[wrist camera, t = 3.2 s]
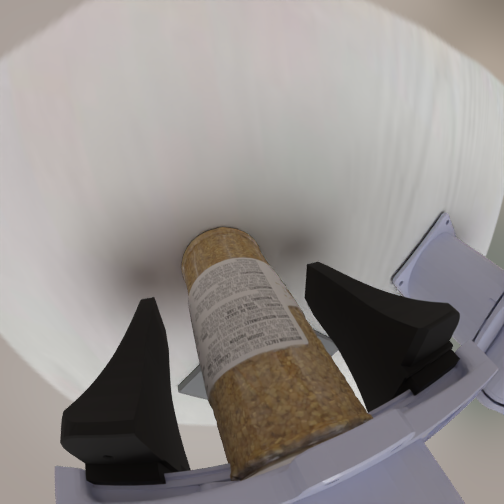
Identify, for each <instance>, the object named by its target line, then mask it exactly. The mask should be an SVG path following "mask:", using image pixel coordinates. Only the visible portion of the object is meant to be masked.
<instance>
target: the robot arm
mask: <svg viewBox="0 0 504 504" xmlns="http://www.w3.org/2000/svg"><path fill="white" fill-rule="evenodd" d="M393 284H394V285H395V286H396V287H397V289H398V290H399V291H400V292H401V294H402V295H403V296H404V297H403V296H398V295H395V294H391V293H388V292H385V291H382V290H379V289H377V288H374V287H372V286H369V285H367V284H364V283H362V282H360V281H358V280H355V279H353V278H351V277H349V276H347V275H345V274H343V273H341V272H339V271H337V270H335V269H333V268H331V267H329V266H327V265H324V264H322V263H320V262H315V263H311V264H307V273H306V288H305V299H306V301H307V303H308V305H309V307H310V309H311V311H312V313H313V315H314V316H315V317H316V319H317V320H318V322H319V323H320V324H321V326H322V327H323V329H324V330H325V331H326V333H327V334H328V336H329V337H330V338H331V340H332V341H333V342H334V344H335V345H336V347H337V348H338V350H339V351H340V353H341V355H342V357H343V359H344V360H345V362H346V364H347V366H348V368H349V370H350V372H351V374H352V376H353V378H354V380H355V382H356V384H357V387H358V389H359V391H360V393H361V396H362V398H363V401H364V403H365V406H366V409H367V411H368V413H367V414H370V415H371V416H372V417H373V419H371V420H369V421H368V422H366V423H364V424H362V425H360V426H358V427H356V428H354V429H352V430H350V431H347V432H345V433H343V434H341V435H339V436H337V437H334V438H332V439H330V440H327V441H325V442H323V443H321V444H318V445H316V446H314V447H312V448H310V449H308V450H306V451H304V452H303V453H301V454H299V455H298V456H296V457H295V458H294V459H293V460H292V461H291V463H289V464H287V465H284V466H282V467H279V468H277V469H274V470H271V471H269V472H266V473H263V474H260V475H258V476H255V477H252V478H249V479H246V480H242V481H240V480H239V481H231V478H230V474H231V467H230V463H228V464H224V465H219V466H214V467H208V468H202V469H197V470H190V467H189V464H188V460H187V457H186V454H185V451H184V447H183V444H182V440H181V436H180V433H179V429H178V424H177V420H176V416H175V411H174V406H173V401H172V395H171V384H170V367H169V348H168V342H167V336H166V330H165V327H164V324H163V321H162V318H161V316H160V313H159V310H158V307H157V304H156V301H155V298H154V297H152V298H147V299H142V300H141V301H140V303H139V305H138V307H137V310H136V312H135V314H134V317H133V319H132V321H131V323H130V325H129V327H128V329H127V331H126V333H125V335H124V337H123V339H122V341H121V343H120V345H119V346H118V348H117V350H116V352H115V353H114V355H113V357H112V358H111V360H110V361H109V363H108V364H107V366H106V367H105V368H104V370H103V371H102V372H101V373H100V375H99V376H98V377H97V379H96V380H95V381H94V382H93V383H92V384H91V386H90V387H89V388H88V389H87V390H86V391H85V392H84V393H83V394H82V395H81V396H80V397H79V398H78V399H77V400H76V401H75V402H73V403H72V404H71V405H70V406H69V407H68V408H67V409H66V410H64V412H63V416H62V424H61V440H60V443H61V445H62V446H63V448H64V449H65V450H67V451H68V452H69V453H70V454H72V455H73V456H75V457H77V458H78V459H79V460H81V461H82V462H84V463H85V469H86V470H83V469H80V468H72V467H63V466H55V497H56V504H465V502H464V501H463V500H462V498H461V496H460V495H459V493H458V492H457V490H456V489H455V488H454V486H453V485H452V483H451V481H450V480H449V478H448V477H447V476H446V474H445V473H444V471H443V470H442V468H441V467H440V465H439V464H438V462H437V461H436V460H435V458H434V457H433V455H432V454H431V452H430V451H429V449H428V448H427V447H426V445H425V444H424V442H426V441H427V440H428V439H429V438H431V437H432V436H433V435H434V434H436V433H437V432H438V431H439V430H441V429H442V428H443V427H444V426H445V425H446V424H448V423H449V422H450V421H451V420H452V419H453V418H454V417H455V416H456V415H458V414H459V413H460V412H461V411H462V410H463V409H464V408H465V407H466V406H467V405H468V404H469V403H470V402H471V401H472V400H473V399H474V398H475V397H476V398H477V399H478V401H479V402H480V403H481V404H483V405H484V406H485V407H487V408H489V409H491V410H495V411H497V412H499V413H501V414H503V415H504V270H503V269H502V268H500V267H499V266H498V265H496V264H495V263H493V262H492V261H491V260H489V259H487V258H486V257H485V256H483V255H482V254H481V253H479V252H478V251H476V250H475V249H473V248H472V247H470V246H469V245H467V244H466V243H464V242H463V241H461V240H459V239H458V238H456V235H455V232H454V229H453V226H452V223H451V220H450V217H449V214H448V213H446V212H444V213H443V214H442V215H441V216H440V218H439V219H438V221H437V222H436V223H435V225H434V226H433V228H432V229H431V230H430V232H429V233H428V235H427V236H426V237H425V239H424V240H423V241H422V243H421V244H420V245H419V247H418V248H417V249H416V250H415V252H414V253H413V254H412V256H411V257H410V258H409V259H408V261H407V262H406V263H405V264H404V266H403V267H402V268H401V269H400V270H399V272H398V273H397V274H396V275H395V277H394V278H393ZM451 337H453V338H454V339H455V340H456V341H457V342H458V343H459V344H460V345H461V346H460V347H459V348H458V349H457V350H456V352H455V353H454V352H453V351H452V350H451V349H452V347H453V344H452V343H451V342H450V341H449V340H450V339H451Z"/></svg>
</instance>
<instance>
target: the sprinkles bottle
mask: <svg viewBox="0 0 504 504" xmlns="http://www.w3.org/2000/svg"><path fill="white" fill-rule="evenodd" d="M182 274H183V278H184V280H185V282H186V285H187V290H188V295H189V300H188V302H189V311H190V317H191V322H192V328H193V333H194V338H195V343H196V348H197V353H198V358H199V362H200V367H201V371H202V376H203V381H204V385H205V390H206V394H207V398H208V401H209V404H210V406H211V407H212V409H213V411H214V416H215V419H216V421H217V427H218V430H219V433H220V437H221V440H222V443H223V447H224V451H225V454H226V458H227V461H228V463H230V467H231V474H230V478H231V481H239V480H240V481H242V480H246V479H249V478H252V477H255V476H258V475H260V474H263V473H266V472H269V471H271V470H274V469H277V468H279V467H282V466H284V465H287V464H289V463H291V461H292V460H293V459H294V458H295V457H296V456H298V455H299V454H301V453H303V452H304V451H306V450H308V449H310V448H312V447H314V446H316V445H318V444H321V443H323V442H325V441H327V440H330V439H332V438H334V437H337V436H339V435H341V434H343V433H345V432H347V431H350V430H352V429H354V428H356V427H358V426H360V425H362V424H364V423H366V422H368V421H369V420H371V419H373V417H372V416H371V415H370V414H367V412H366V410H365V408H364V407H363V405H362V404H361V403H360V401H359V400H358V398H357V397H356V396H355V394H354V392H353V390H352V388H351V387H350V385H349V384H348V382H347V381H346V379H345V377H344V375H343V374H342V373H341V372H340V370H339V368H338V367H337V365H336V364H335V363H334V361H333V359H332V357H331V355H329V353H328V352H327V351H326V349H325V347H324V346H323V344H322V342H321V340H320V339H318V337H317V335H316V333H315V332H314V331H313V329H312V327H311V326H310V324H309V323H308V322H307V320H306V319H305V316H304V313H303V312H302V310H301V308H300V307H299V305H298V304H297V302H296V301H295V299H294V298H293V296H292V295H291V293H290V292H289V290H288V289H287V287H286V286H285V285H284V283H283V282H282V280H281V279H280V277H279V276H278V275H277V273H276V272H275V271H274V269H272V268H271V267H270V266H269V264H268V263H267V261H266V260H265V258H264V257H263V255H262V254H261V251H260V249H259V246H258V244H257V243H256V241H255V240H254V239H253V238H252V237H251V236H249V235H248V234H247V233H245V232H243V231H240V230H238V229H233V228H226V227H220V228H216V229H213V230H209V231H207V232H205V233H203V234H201V235H199V236H198V237H197V238H195V239H194V240H193V241H191V243H190V245H189V246H188V247H187V249H186V251H185V253H184V256H183V260H182Z"/></svg>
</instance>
